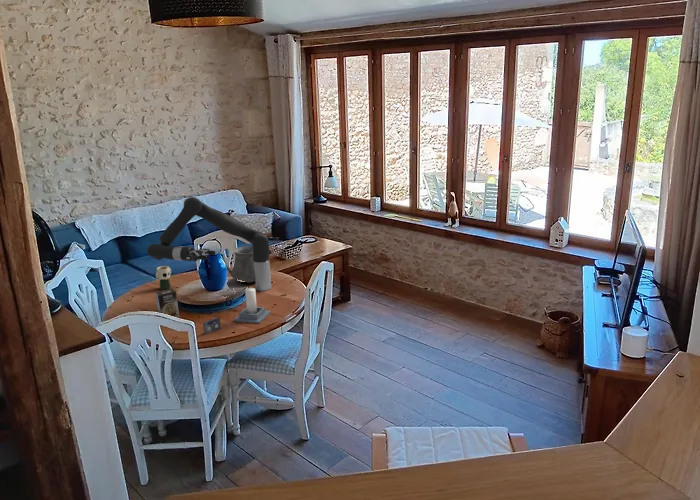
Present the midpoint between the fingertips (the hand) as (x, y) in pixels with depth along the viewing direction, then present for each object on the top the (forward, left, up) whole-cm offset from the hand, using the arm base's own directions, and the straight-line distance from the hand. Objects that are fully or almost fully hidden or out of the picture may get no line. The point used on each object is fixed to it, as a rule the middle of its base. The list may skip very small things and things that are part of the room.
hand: (210, 255), depth 284 cm
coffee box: (+20, -16, -30) cm, 40 cm away
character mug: (-22, -46, -30) cm, 59 cm away
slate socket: (+6, +24, -30) cm, 39 cm away
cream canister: (+6, +24, -29) cm, 38 cm away
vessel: (-46, -2, -30) cm, 55 cm away
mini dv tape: (+26, +12, -30) cm, 42 cm away
